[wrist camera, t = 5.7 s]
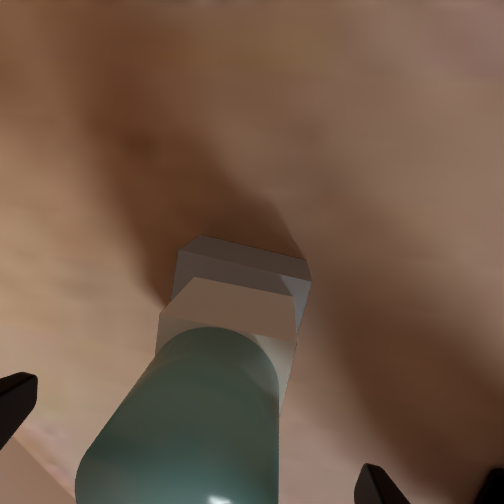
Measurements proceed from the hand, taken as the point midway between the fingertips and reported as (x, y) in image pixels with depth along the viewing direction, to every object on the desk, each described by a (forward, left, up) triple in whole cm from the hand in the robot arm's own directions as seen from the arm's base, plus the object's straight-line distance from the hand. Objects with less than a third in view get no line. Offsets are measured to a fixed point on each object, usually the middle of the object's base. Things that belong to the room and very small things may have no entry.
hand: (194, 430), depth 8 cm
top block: (0, 0, -6) cm, 6 cm away
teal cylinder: (0, 0, -2) cm, 2 cm away
